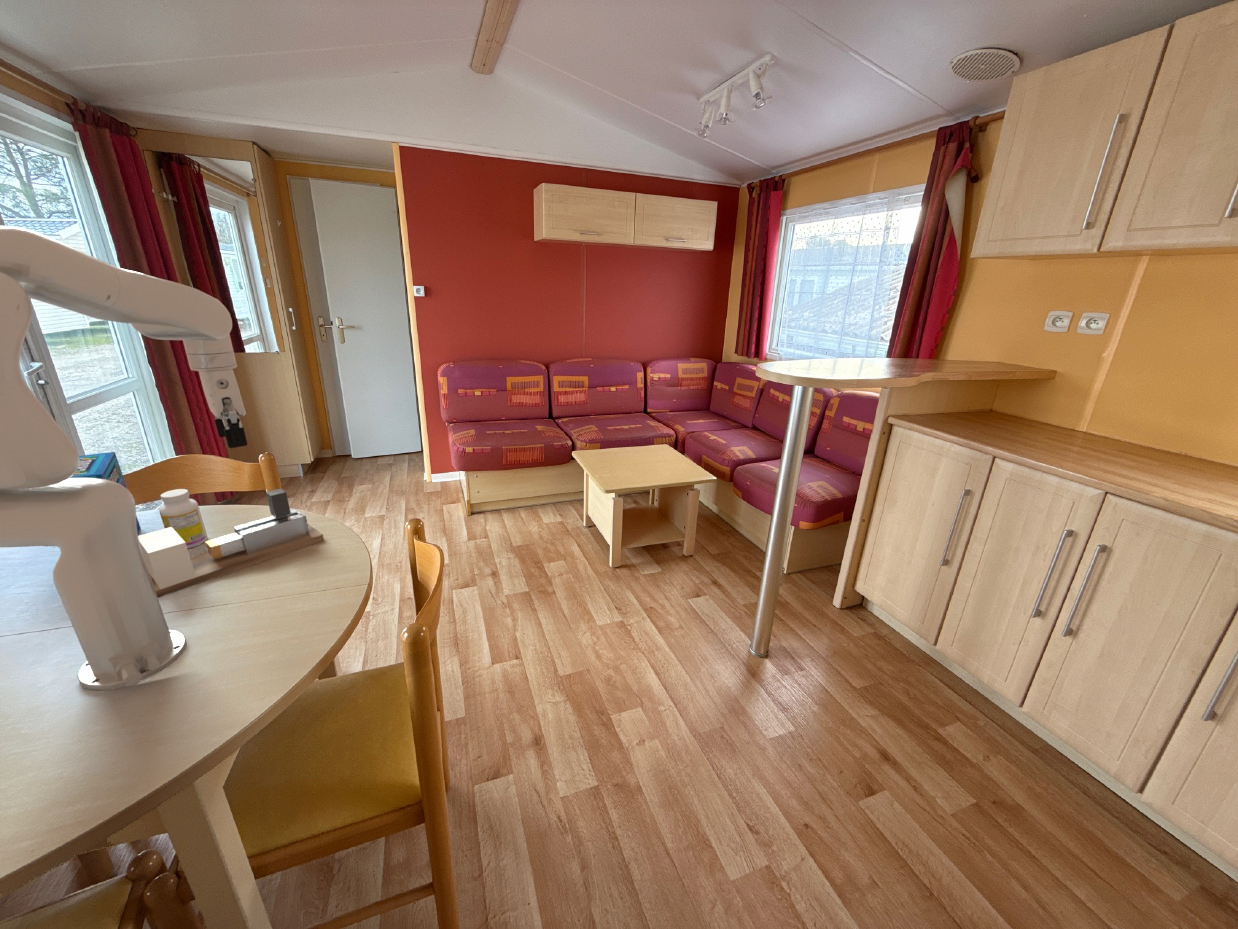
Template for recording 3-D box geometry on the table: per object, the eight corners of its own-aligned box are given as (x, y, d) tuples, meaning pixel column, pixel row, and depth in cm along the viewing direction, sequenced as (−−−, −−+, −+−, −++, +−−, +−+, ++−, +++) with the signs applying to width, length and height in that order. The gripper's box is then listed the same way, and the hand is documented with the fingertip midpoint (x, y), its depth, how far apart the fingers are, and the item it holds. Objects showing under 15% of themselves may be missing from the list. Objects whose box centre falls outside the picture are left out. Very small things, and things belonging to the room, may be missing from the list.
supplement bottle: (176, 539, 115) (160, 489, 111) (211, 534, 118) (197, 485, 114) (166, 553, 110) (149, 500, 105) (203, 547, 112) (188, 496, 108)
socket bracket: (196, 577, 99) (185, 542, 96) (160, 589, 95) (148, 553, 92) (182, 560, 104) (171, 526, 102) (147, 570, 100) (135, 536, 98)
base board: (323, 540, 117) (322, 534, 117) (155, 598, 94) (153, 591, 94) (306, 527, 123) (305, 521, 122) (143, 579, 100) (141, 572, 100)
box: (88, 539, 114) (57, 458, 107) (141, 529, 119) (114, 451, 112) (72, 571, 102) (36, 483, 95) (132, 559, 107) (101, 474, 100)
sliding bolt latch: (302, 531, 116) (293, 490, 112) (214, 559, 103) (201, 514, 100) (296, 526, 118) (287, 486, 114) (208, 553, 105) (196, 509, 102)
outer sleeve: (309, 534, 116) (305, 515, 115) (247, 555, 107) (242, 534, 105) (299, 527, 120) (295, 508, 118) (238, 546, 110) (233, 526, 109)
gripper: (245, 365, 96) (264, 447, 102) (226, 354, 107) (244, 429, 113) (196, 368, 91) (219, 455, 97) (182, 357, 102) (203, 435, 108)
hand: (233, 441), depth 105 cm, fingers open, 9 cm apart
